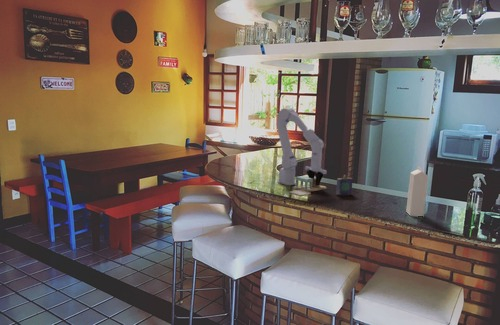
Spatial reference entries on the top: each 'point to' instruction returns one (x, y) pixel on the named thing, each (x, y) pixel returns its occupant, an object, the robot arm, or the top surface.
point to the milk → (417, 193)
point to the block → (315, 183)
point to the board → (309, 188)
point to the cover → (304, 181)
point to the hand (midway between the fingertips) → (314, 184)
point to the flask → (344, 186)
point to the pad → (300, 192)
